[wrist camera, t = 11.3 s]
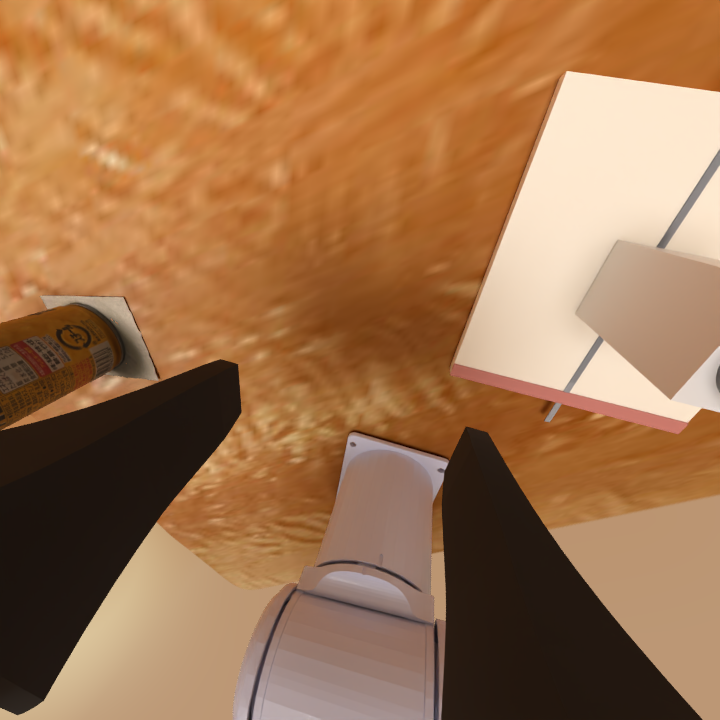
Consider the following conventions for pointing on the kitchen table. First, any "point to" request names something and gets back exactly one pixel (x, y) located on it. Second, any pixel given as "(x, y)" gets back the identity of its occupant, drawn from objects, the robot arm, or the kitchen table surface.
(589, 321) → the white bottle
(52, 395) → the condiment
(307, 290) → the kitchen table surface
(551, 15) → the kitchen table surface
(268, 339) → the kitchen table surface
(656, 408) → the notepad
